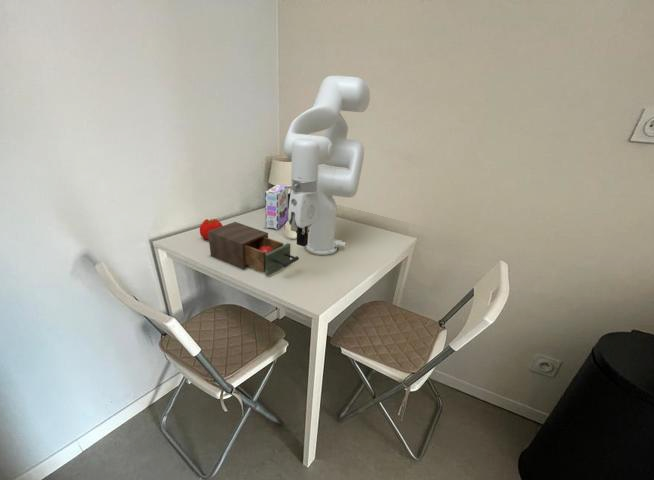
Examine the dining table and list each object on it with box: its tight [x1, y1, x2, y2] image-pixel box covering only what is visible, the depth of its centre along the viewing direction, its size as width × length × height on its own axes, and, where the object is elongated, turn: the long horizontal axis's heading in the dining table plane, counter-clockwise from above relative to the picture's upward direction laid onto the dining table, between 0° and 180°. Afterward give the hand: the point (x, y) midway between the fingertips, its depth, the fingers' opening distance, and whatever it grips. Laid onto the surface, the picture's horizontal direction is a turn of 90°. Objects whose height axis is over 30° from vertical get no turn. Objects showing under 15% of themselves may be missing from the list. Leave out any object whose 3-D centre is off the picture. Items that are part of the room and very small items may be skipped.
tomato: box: [199, 218, 224, 241], centre depth 140 cm, size 9×9×8 cm
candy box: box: [264, 184, 289, 230], centre depth 155 cm, size 14×6×16 cm, turn 164°
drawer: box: [244, 237, 300, 277], centre depth 120 cm, size 21×12×8 cm, turn 56°
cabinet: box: [208, 221, 269, 270], centre depth 127 cm, size 17×13×10 cm
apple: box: [259, 244, 273, 254], centre depth 121 cm, size 6×6×7 cm
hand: (302, 244), depth 109 cm, fingers closed
